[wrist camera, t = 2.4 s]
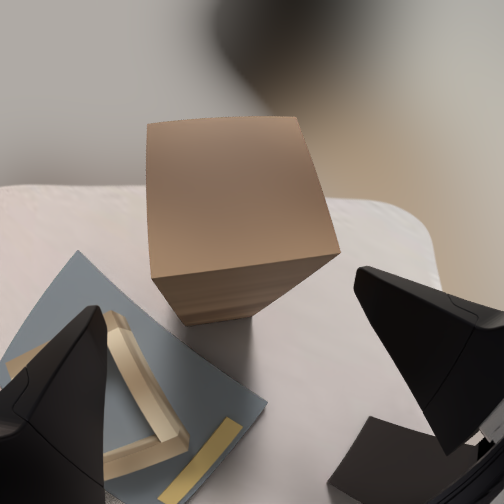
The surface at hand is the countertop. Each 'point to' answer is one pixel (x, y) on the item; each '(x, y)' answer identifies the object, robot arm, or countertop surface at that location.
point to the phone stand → (397, 465)
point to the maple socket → (146, 395)
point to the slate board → (167, 375)
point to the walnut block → (232, 214)
